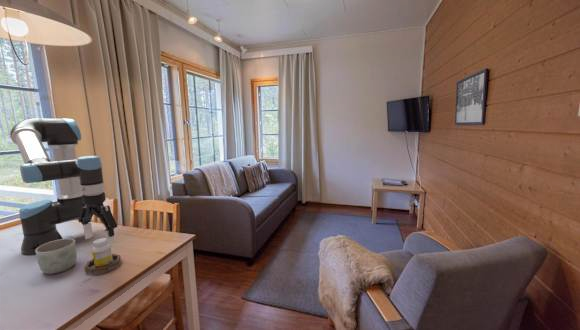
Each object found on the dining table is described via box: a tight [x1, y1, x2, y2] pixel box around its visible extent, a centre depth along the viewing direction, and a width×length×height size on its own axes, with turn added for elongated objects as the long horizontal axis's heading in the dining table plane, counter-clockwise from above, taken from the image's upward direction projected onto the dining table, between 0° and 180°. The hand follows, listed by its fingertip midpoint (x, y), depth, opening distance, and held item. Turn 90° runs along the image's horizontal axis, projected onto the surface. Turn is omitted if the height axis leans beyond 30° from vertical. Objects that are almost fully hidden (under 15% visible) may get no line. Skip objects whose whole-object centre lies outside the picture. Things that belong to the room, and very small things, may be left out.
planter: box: [35, 238, 77, 275], centre depth 106 cm, size 12×12×11 cm
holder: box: [84, 253, 122, 276], centre depth 107 cm, size 12×12×3 cm
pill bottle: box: [91, 237, 113, 268], centre depth 106 cm, size 6×6×12 cm
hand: (99, 240), depth 106 cm, fingers open, 13 cm apart
